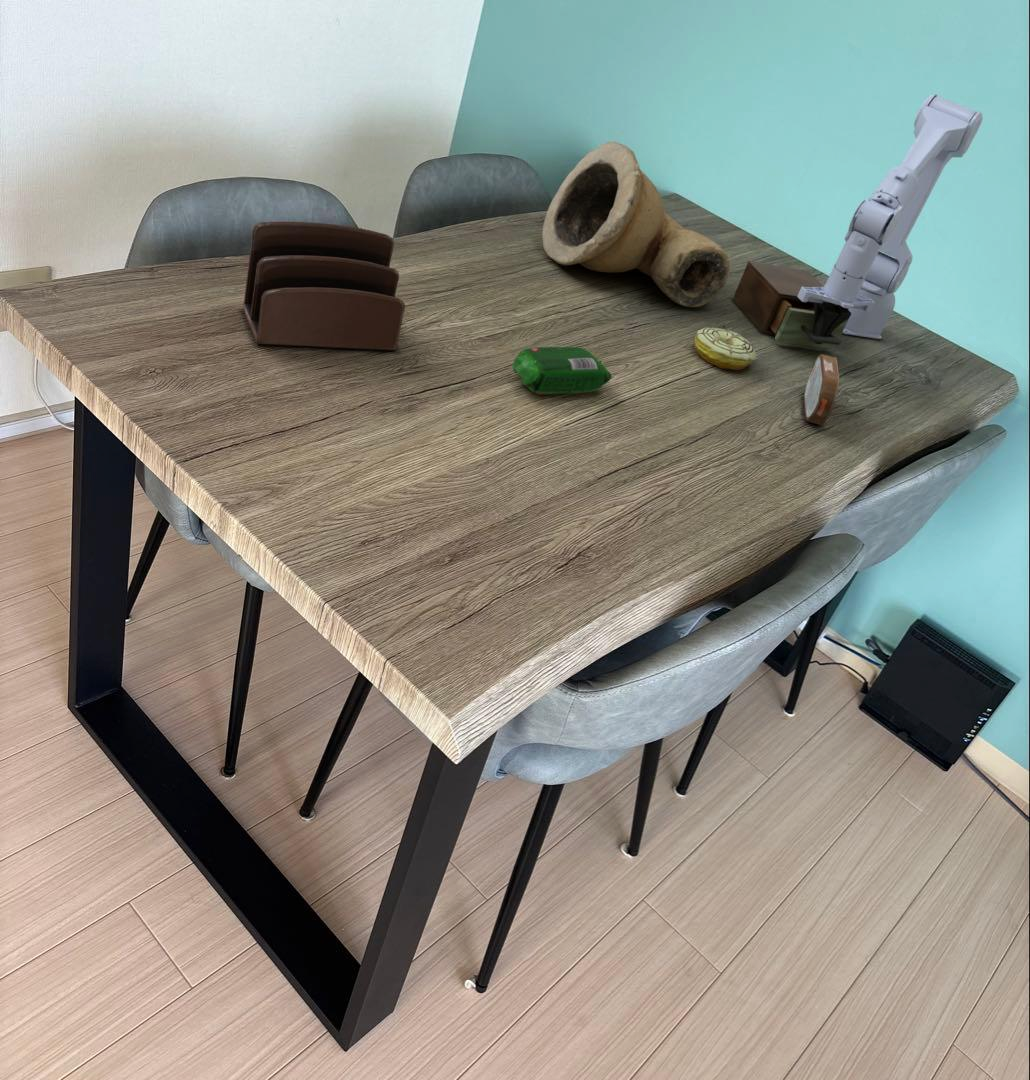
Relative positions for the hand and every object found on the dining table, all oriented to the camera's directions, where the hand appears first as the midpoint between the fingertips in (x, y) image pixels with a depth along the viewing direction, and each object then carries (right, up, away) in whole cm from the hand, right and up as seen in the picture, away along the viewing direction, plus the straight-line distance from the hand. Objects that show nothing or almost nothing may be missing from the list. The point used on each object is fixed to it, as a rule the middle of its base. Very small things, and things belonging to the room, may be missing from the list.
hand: (816, 341), depth 184 cm
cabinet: (-4, +6, +12) cm, 14 cm away
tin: (-6, -15, -17) cm, 24 cm away
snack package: (-48, -13, -34) cm, 60 cm away
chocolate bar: (-2, +4, +7) cm, 8 cm away
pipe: (-33, +14, +10) cm, 37 cm away
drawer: (-2, +2, +6) cm, 6 cm away
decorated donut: (-19, -5, -10) cm, 22 cm away
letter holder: (-82, -7, -40) cm, 91 cm away
